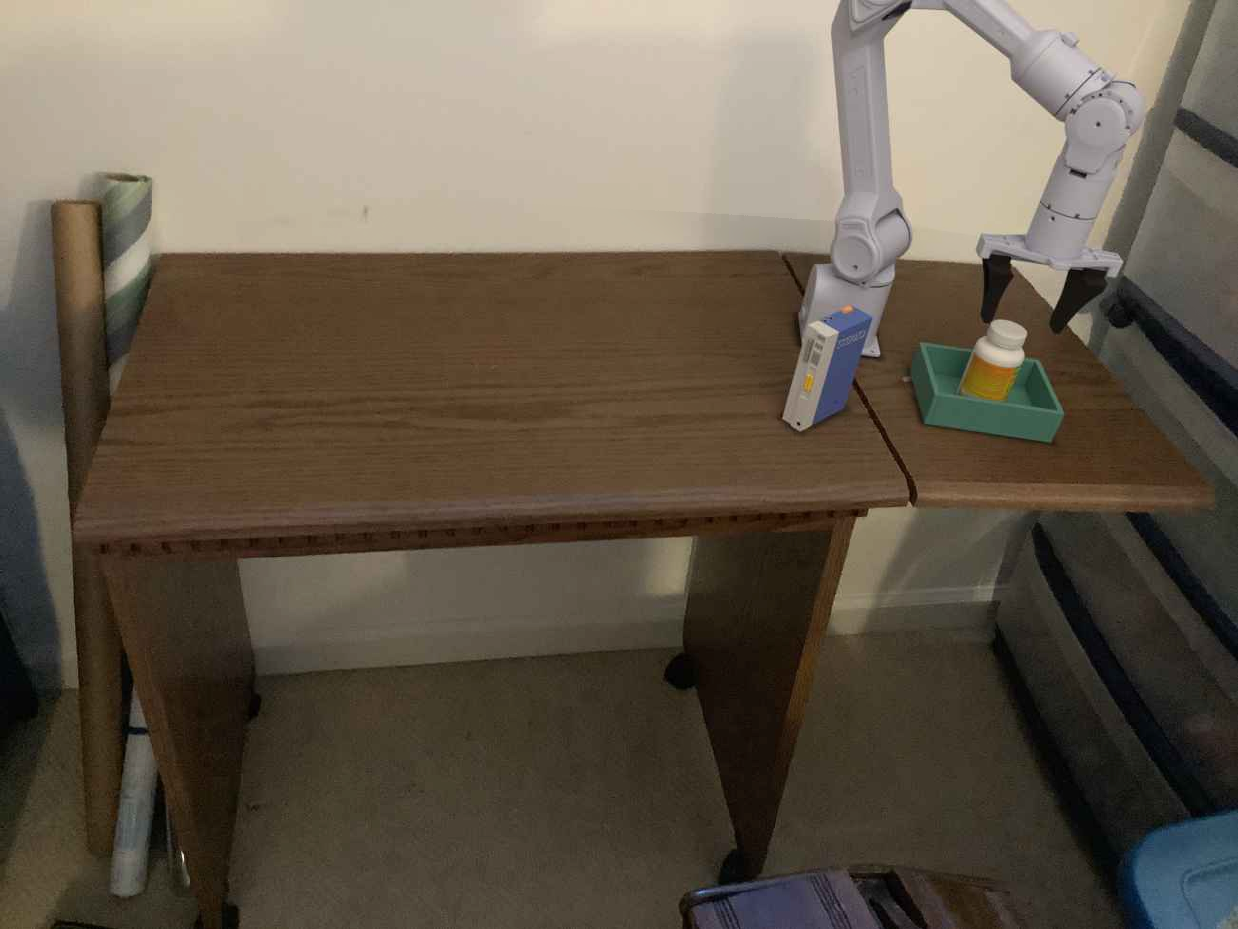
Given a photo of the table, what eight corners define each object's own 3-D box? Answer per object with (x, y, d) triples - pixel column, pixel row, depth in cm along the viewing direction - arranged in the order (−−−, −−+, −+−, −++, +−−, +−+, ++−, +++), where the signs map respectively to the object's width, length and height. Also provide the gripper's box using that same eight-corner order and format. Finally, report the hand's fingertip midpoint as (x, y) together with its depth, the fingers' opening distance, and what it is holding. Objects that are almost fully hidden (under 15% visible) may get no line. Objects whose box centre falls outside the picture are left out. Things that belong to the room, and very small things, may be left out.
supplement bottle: (1004, 420, 113) (1037, 345, 107) (956, 409, 114) (986, 334, 108) (1000, 394, 117) (1031, 321, 111) (953, 384, 118) (982, 311, 112)
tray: (923, 423, 111) (934, 394, 109) (909, 369, 120) (919, 341, 118) (1051, 442, 111) (1064, 414, 109) (1027, 387, 120) (1039, 359, 118)
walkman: (824, 396, 113) (852, 302, 106) (844, 409, 112) (874, 313, 104) (779, 419, 108) (805, 321, 101) (799, 432, 107) (827, 334, 100)
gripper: (1007, 212, 99) (961, 332, 107) (1152, 234, 99) (1095, 352, 107) (991, 184, 104) (949, 300, 113) (1129, 205, 105) (1076, 320, 113)
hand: (1019, 324), depth 110 cm, fingers open, 7 cm apart
